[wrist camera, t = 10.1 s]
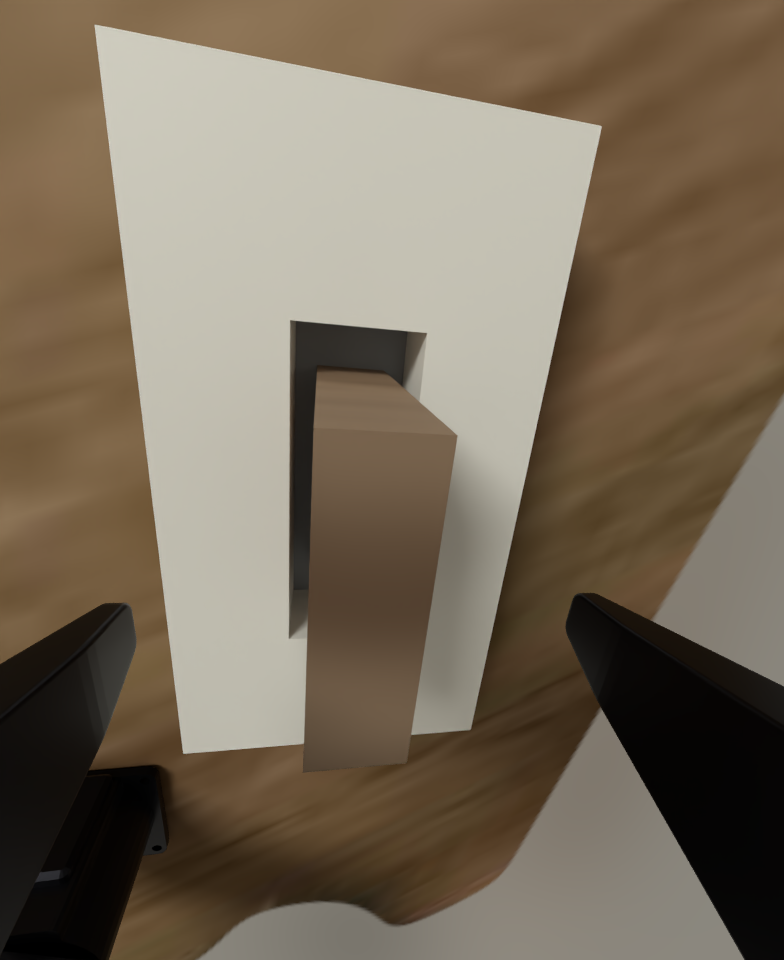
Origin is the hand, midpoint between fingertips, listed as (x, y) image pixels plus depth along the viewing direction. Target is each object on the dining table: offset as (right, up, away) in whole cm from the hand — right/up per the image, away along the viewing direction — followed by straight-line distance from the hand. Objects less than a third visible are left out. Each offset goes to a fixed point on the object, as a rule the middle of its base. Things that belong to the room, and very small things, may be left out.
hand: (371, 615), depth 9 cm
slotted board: (-2, +3, +9) cm, 10 cm away
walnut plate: (-1, +3, +8) cm, 9 cm away
